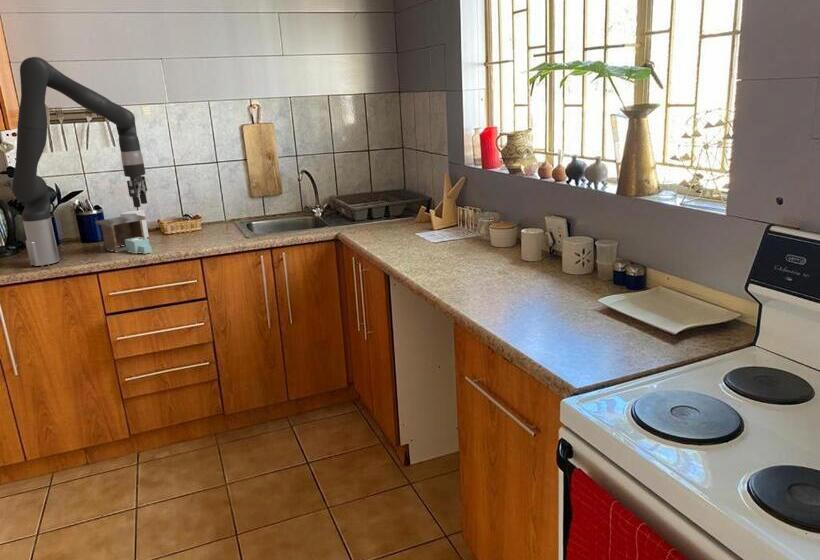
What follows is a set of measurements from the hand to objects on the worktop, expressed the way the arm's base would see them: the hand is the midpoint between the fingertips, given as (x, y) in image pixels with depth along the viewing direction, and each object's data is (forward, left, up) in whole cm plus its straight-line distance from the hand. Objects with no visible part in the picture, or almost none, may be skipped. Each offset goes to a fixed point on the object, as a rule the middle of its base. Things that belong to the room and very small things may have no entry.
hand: (140, 205), depth 254 cm
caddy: (-1, +4, -19) cm, 19 cm away
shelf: (-1, +17, -19) cm, 25 cm away
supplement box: (+9, +27, -19) cm, 34 cm away
